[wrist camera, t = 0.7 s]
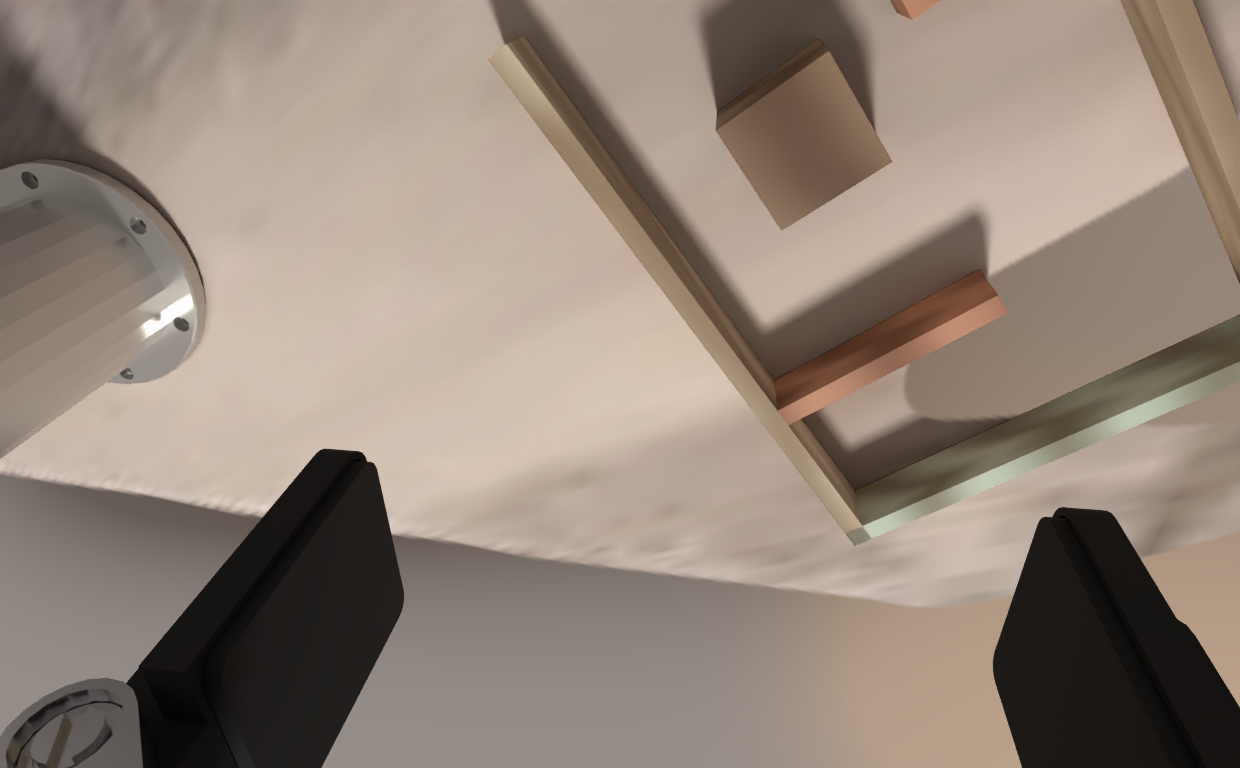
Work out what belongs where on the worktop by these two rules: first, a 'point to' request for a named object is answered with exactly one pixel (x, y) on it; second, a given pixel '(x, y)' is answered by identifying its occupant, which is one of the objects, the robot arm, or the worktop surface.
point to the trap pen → (936, 300)
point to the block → (801, 136)
